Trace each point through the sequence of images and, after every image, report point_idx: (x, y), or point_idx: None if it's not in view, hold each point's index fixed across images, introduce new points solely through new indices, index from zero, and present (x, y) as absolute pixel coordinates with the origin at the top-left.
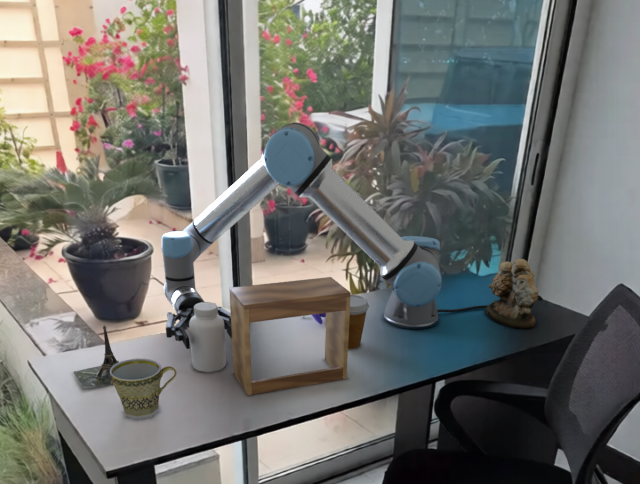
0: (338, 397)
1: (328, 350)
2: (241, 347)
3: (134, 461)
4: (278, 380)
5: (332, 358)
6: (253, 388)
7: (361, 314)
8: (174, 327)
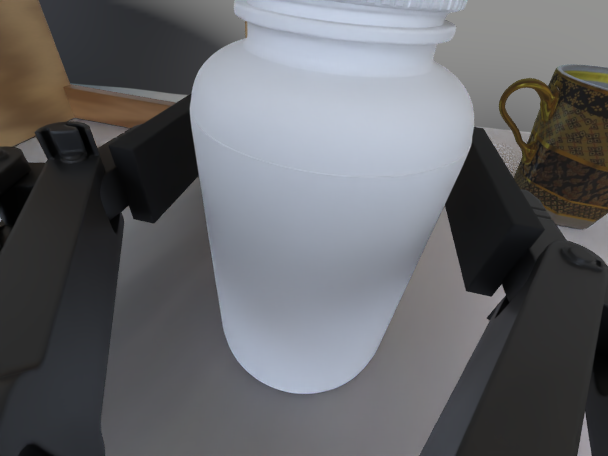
0: (162, 99)
1: None
2: None
3: (530, 133)
4: None
5: (13, 109)
6: None
7: None
8: (599, 261)
